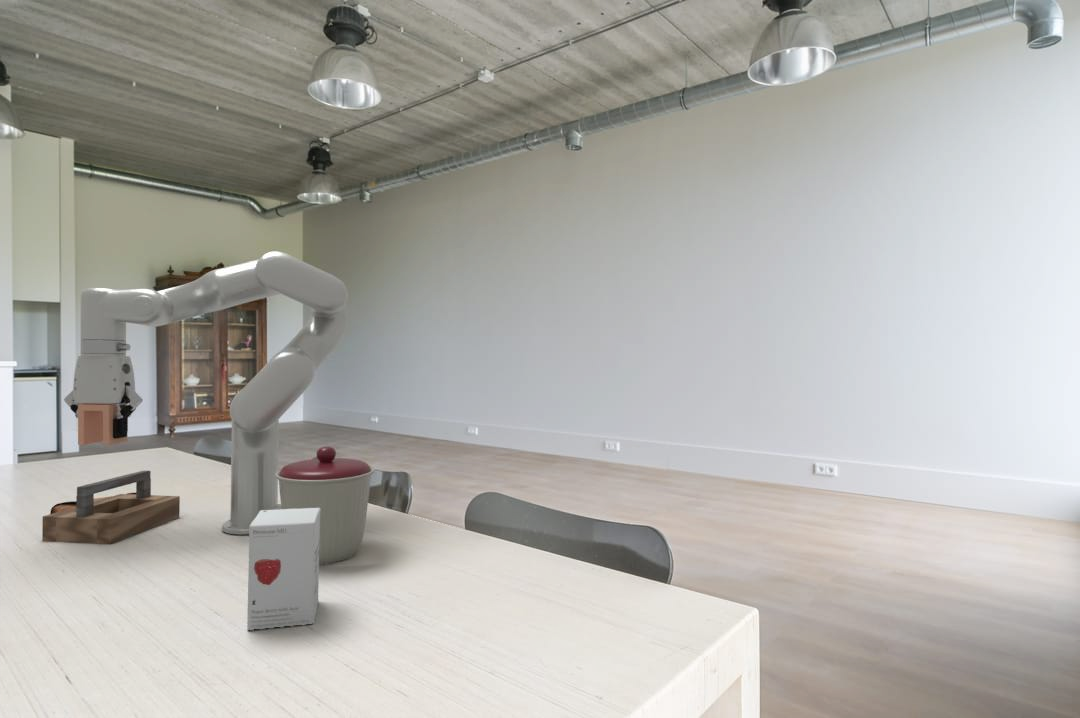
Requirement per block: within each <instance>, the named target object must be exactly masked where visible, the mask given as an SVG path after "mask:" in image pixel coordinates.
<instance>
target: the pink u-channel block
mask: <svg viewBox="0 0 1080 718" xmlns="http://www.w3.org/2000/svg"><path fill="white" fill-rule="evenodd" d="M128 404H129V403H128ZM128 404H127V405H128ZM120 409H121V410H122V406H120ZM113 419H116V416H115V414H114V405H101V404H79V405H78V418H77V445H79V446H80V445H82V446H83V445H90V444H95V443H100V442H102V445H103V446H112V445H117V444H121V443H126V442H128V436H127V437H123V438H117V439H116V438H113Z"/></svg>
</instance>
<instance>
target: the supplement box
mask: <svg viewBox="0 0 1080 718" xmlns="http://www.w3.org/2000/svg"><path fill="white" fill-rule="evenodd" d="M320 510H321V509H320V508H303V509H279V510H261V511H260V512H259V513H258V515H257V516H256V518H255V519H254V520H253V522H252V523H251V525H250V526H249V534H248V573H247V575H248V583H247V584H248V585H247V623H246V624H247V626H246V627H247V631H248V630H250V631H255V630H254V629H260V630H266V629H265V628H269V629H275V628H274V627H280V628H285V627H284V626H291V627H294V626H293V625H302V626H304V625H303V624H312V623H313V624H314V622H315V619H316V614H317V609H318V606H319V605H318V604H319V584H320V583H319V577H320V576H319V574H320V573H319V572H320V570H319V569H320V566H319V565H320V564H319V540H320ZM313 624H312V625H313Z"/></svg>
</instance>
